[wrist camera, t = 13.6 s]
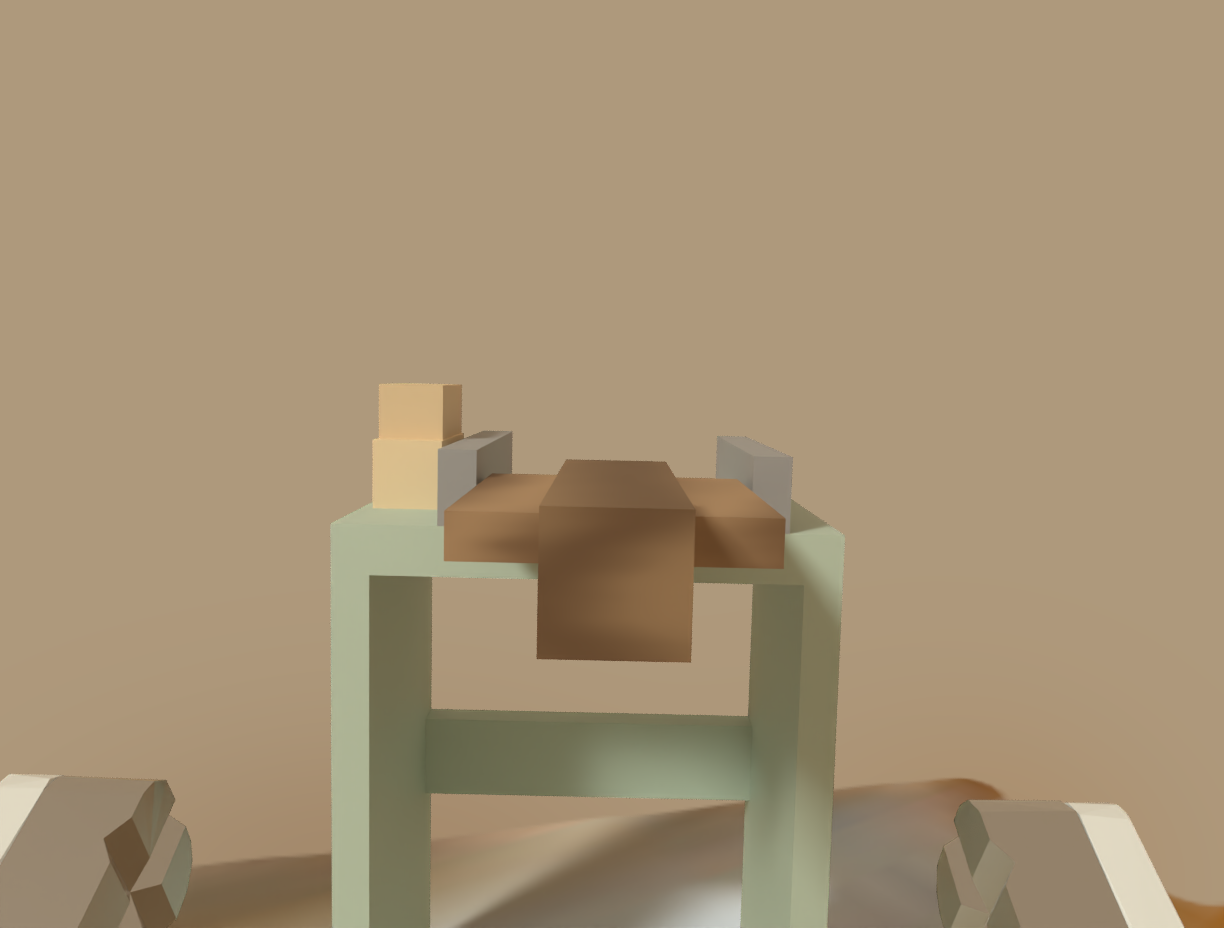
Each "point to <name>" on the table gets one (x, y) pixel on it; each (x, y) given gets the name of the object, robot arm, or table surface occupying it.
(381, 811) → the stand
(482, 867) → the table surface
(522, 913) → the table surface
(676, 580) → the board with handle
